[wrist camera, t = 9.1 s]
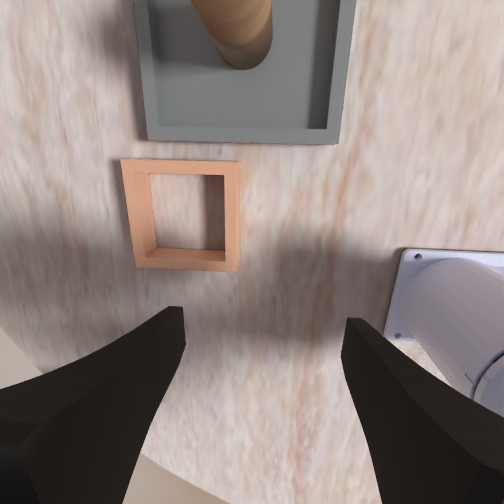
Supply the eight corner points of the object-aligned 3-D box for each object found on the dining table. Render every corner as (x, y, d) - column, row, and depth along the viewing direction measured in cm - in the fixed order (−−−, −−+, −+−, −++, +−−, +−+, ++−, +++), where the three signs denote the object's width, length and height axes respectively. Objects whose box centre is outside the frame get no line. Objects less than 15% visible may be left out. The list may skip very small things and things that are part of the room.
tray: (361, -106, 14) (374, -143, 12) (332, 144, 18) (338, 143, 16) (137, -96, 14) (119, -129, 13) (159, 141, 19) (147, 140, 17)
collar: (240, 161, 19) (236, 162, 17) (240, 261, 21) (236, 272, 19) (136, 158, 19) (120, 159, 17) (148, 256, 22) (135, 266, 20)
